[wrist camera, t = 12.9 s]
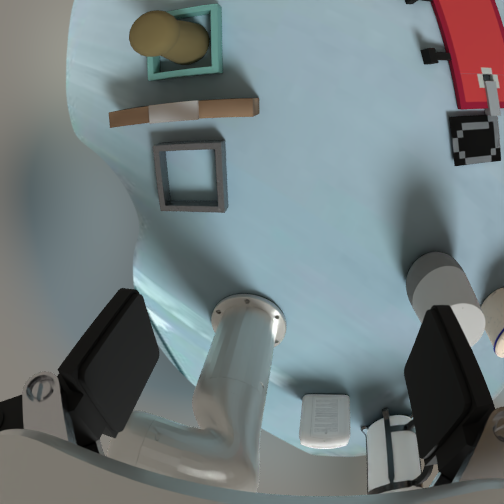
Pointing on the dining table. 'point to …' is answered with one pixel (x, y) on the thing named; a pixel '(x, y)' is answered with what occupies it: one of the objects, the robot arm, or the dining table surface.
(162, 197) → the collar
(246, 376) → the robot arm
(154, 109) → the door edge
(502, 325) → the teacup with lid
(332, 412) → the photo printer
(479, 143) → the red board with handle
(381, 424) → the coffee press
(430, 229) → the dining table surface
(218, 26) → the collar
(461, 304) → the smart speaker
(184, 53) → the cork
